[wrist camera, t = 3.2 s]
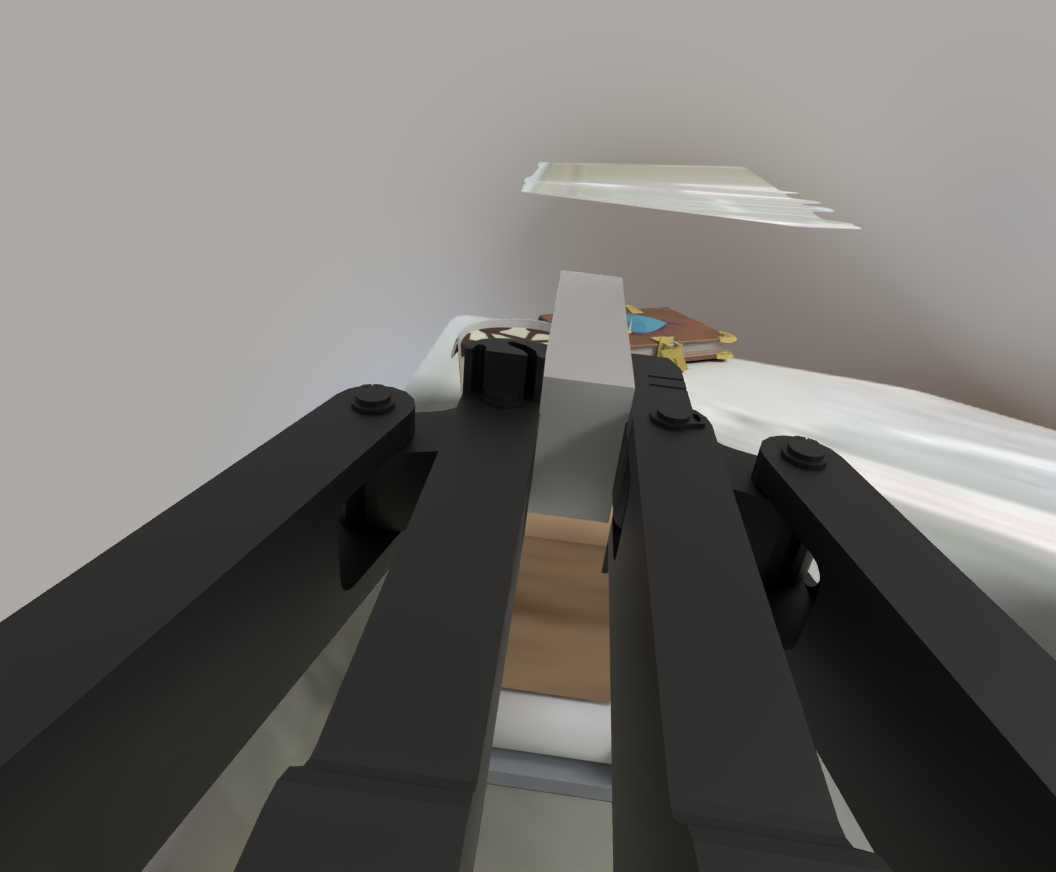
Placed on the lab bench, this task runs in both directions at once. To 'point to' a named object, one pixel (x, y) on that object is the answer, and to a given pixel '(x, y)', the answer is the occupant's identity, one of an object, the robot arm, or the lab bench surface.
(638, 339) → the book
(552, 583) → the wooden block
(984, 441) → the lab bench surface
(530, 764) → the roller bed
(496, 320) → the food container
